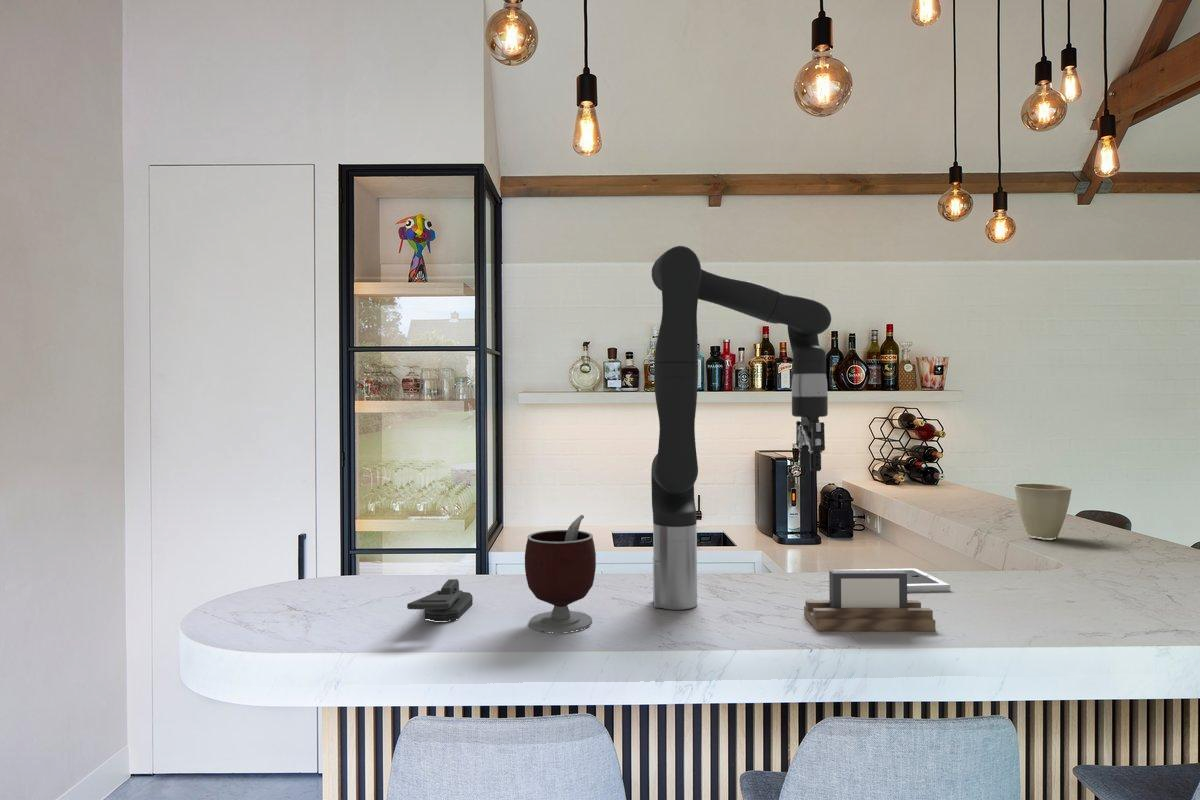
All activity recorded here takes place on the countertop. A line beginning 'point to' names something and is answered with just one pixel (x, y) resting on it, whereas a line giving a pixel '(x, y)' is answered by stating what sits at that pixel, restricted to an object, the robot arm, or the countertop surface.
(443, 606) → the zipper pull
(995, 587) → the countertop surface
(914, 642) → the countertop surface
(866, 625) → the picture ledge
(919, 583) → the picture frame
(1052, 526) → the plant pot
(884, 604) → the grey photo frame
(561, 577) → the mate gourd
